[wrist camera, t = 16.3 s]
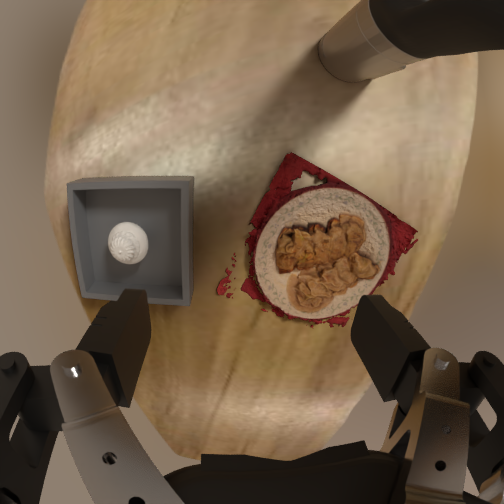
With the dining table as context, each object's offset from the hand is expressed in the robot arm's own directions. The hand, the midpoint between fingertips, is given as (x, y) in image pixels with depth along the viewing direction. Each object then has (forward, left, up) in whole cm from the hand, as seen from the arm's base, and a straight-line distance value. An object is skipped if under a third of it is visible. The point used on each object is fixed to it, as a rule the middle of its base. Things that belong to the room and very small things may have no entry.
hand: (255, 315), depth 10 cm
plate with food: (-14, +11, -33) cm, 38 cm away
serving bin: (+15, +8, -32) cm, 36 cm away
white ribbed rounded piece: (+15, +8, -31) cm, 35 cm away
